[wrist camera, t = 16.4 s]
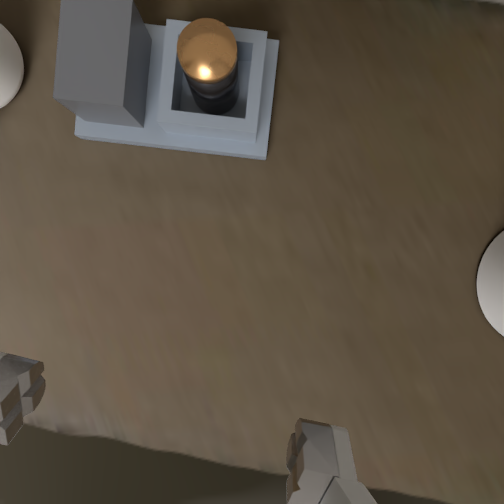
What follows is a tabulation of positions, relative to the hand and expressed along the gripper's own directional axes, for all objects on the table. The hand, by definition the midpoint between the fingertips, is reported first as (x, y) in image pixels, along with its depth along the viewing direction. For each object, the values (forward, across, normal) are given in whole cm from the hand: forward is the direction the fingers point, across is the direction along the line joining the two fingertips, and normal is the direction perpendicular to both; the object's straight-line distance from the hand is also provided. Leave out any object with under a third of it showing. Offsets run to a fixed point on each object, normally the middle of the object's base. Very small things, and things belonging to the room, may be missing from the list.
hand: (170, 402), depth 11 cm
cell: (+31, +5, -7) cm, 32 cm away
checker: (+33, +9, -6) cm, 34 cm away
